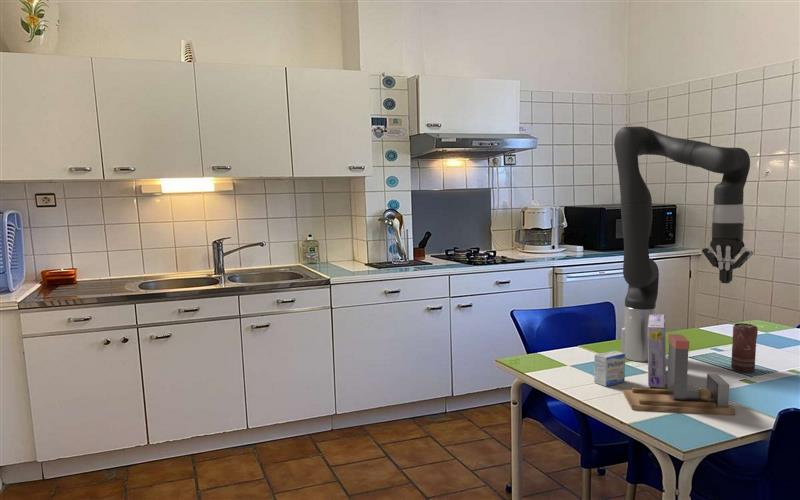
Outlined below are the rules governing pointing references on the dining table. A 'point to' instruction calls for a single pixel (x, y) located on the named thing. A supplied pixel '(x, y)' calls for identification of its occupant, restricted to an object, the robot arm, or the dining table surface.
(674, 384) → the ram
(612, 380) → the medicine box
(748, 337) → the can
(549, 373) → the dining table surface
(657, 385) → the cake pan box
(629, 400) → the board
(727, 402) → the grey stop block
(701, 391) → the walnut
